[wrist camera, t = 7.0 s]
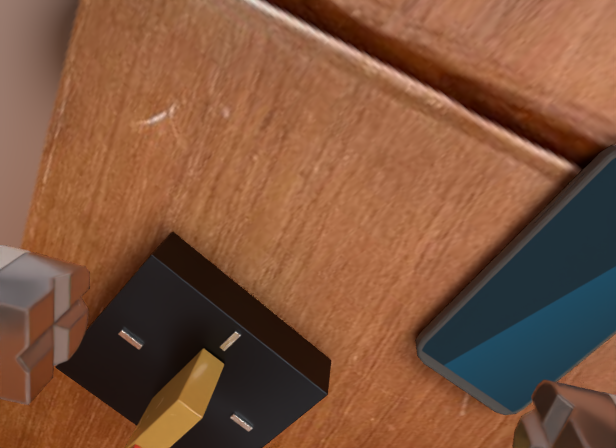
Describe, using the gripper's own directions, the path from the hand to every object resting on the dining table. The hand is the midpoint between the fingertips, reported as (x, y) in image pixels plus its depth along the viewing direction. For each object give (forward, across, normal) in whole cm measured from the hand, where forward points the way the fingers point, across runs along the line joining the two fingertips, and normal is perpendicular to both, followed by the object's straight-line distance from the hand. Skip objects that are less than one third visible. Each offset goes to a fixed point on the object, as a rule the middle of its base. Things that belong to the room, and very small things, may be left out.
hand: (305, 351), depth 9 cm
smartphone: (+17, -13, +5) cm, 22 cm away
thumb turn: (+14, +5, +14) cm, 21 cm away
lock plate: (+17, +5, +14) cm, 23 cm away
